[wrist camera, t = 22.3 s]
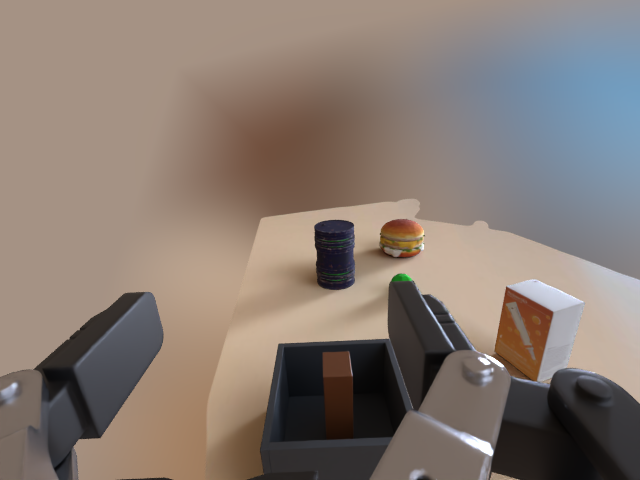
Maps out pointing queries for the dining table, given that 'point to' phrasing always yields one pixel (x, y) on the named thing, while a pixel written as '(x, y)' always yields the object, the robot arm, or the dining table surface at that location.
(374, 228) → the dining table surface
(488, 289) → the dining table surface
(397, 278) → the polyhedron
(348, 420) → the chocolate carton
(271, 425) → the waste bin
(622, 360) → the dining table surface
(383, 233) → the burger
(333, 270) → the navy striped cylinder
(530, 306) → the small box
